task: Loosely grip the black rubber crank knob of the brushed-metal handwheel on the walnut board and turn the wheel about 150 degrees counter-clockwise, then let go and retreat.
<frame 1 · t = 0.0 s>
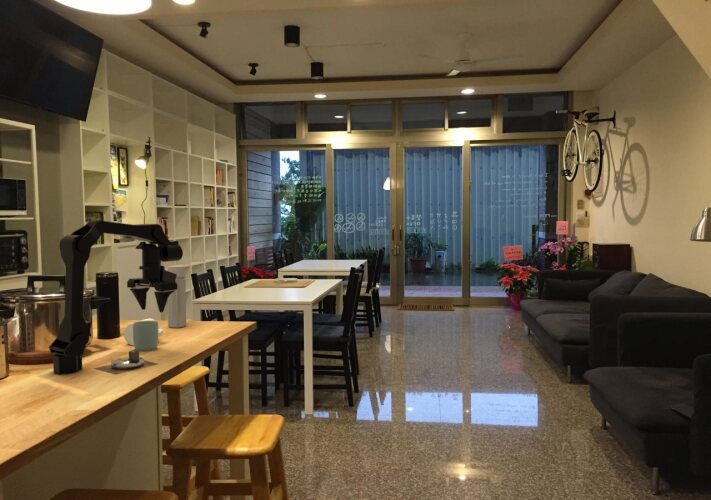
hand: (152, 310, 182), 15 cm above the kitchen counter, fingers open, 9 cm apart
board: (126, 370, 165), on the kitchen counter
handwheel: (127, 357, 164), point 4 cm above the kitchen counter, hinge at 0.0°
water bottle: (177, 327, 230), on the kitchen counter
mug: (147, 343, 201), on the kitchen counter
cup: (146, 352, 187), on the kitchen counter
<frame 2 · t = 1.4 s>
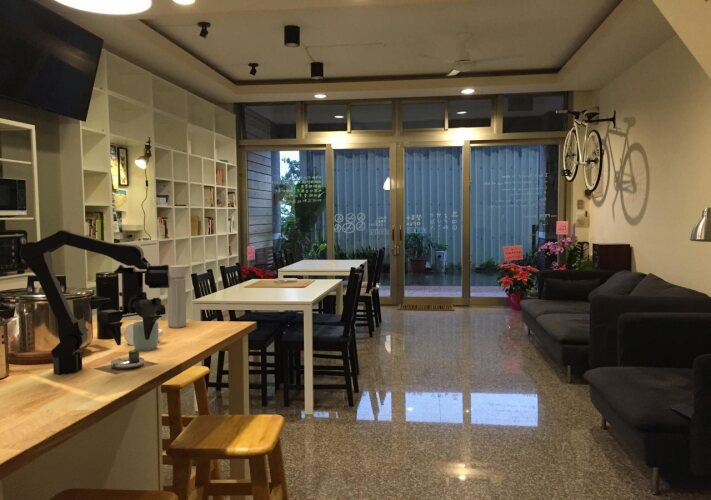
hand: (133, 342, 162), 9 cm above the kitchen counter, fingers open, 9 cm apart
nothing on the kitchen counter moved.
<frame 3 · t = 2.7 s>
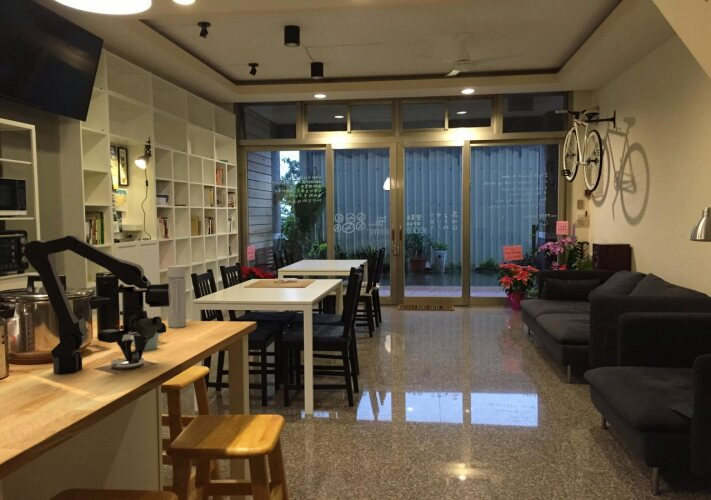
hand: (134, 361, 163), 3 cm above the kitchen counter, fingers closed on handwheel, 3 cm apart
handwheel: (127, 357, 164), point 4 cm above the kitchen counter, hinge at 0.0°, touching gripper
everything else where it was.
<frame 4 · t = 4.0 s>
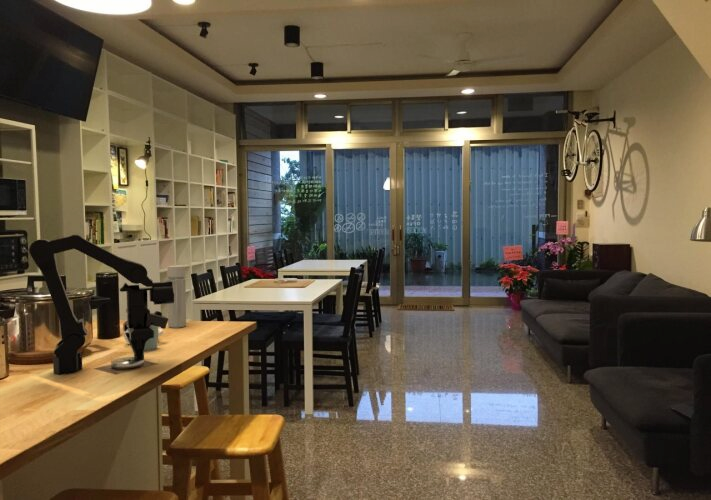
hand: (138, 358, 166), 3 cm above the kitchen counter, fingers open, 4 cm apart
handwheel: (127, 357, 164), point 4 cm above the kitchen counter, hinge at 59.9°, touching gripper
everything else where it was.
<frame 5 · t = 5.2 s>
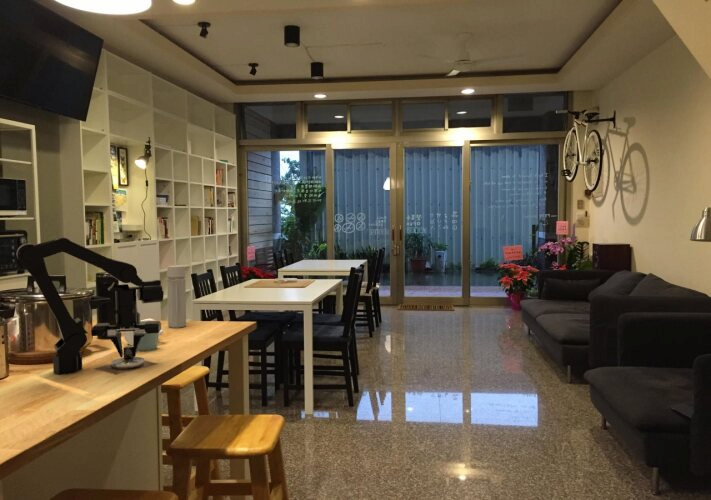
hand: (128, 356, 168), 3 cm above the kitchen counter, fingers open, 3 cm apart
handwheel: (127, 357, 164), point 4 cm above the kitchen counter, hinge at 140.0°, touching gripper
everything else where it was.
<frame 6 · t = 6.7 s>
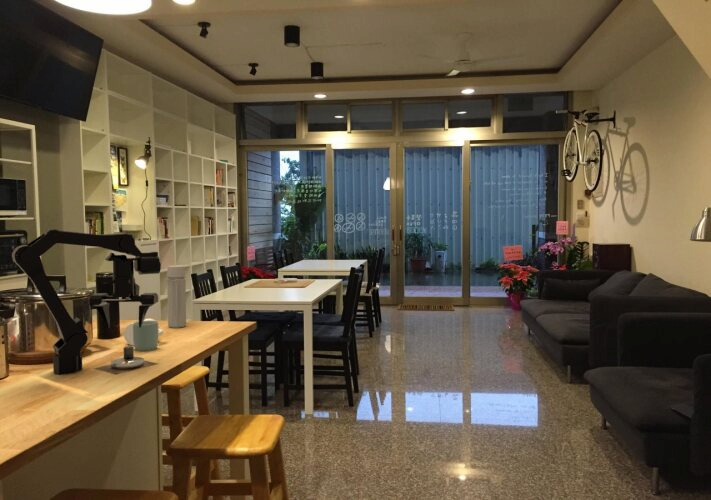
hand: (124, 327, 168), 12 cm above the kitchen counter, fingers open, 9 cm apart
handwheel: (127, 357, 164), point 4 cm above the kitchen counter, hinge at 140.0°
everything else where it was.
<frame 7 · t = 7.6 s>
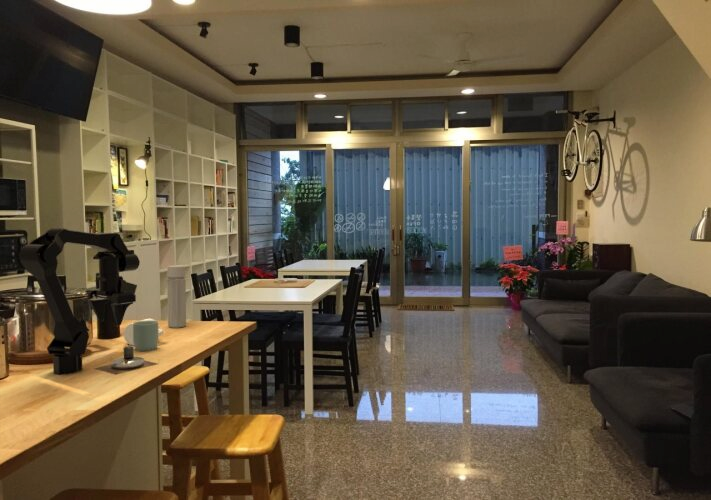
hand: (110, 323, 174), 12 cm above the kitchen counter, fingers open, 9 cm apart
nothing on the kitchen counter moved.
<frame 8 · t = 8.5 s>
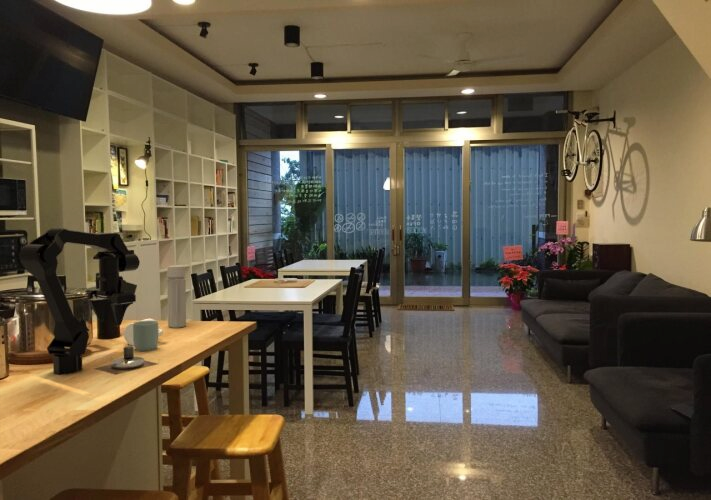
hand: (110, 323, 174), 12 cm above the kitchen counter, fingers open, 9 cm apart
nothing on the kitchen counter moved.
at the end: handwheel at +140° (first picture: +0°); the gripper is holding nothing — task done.
